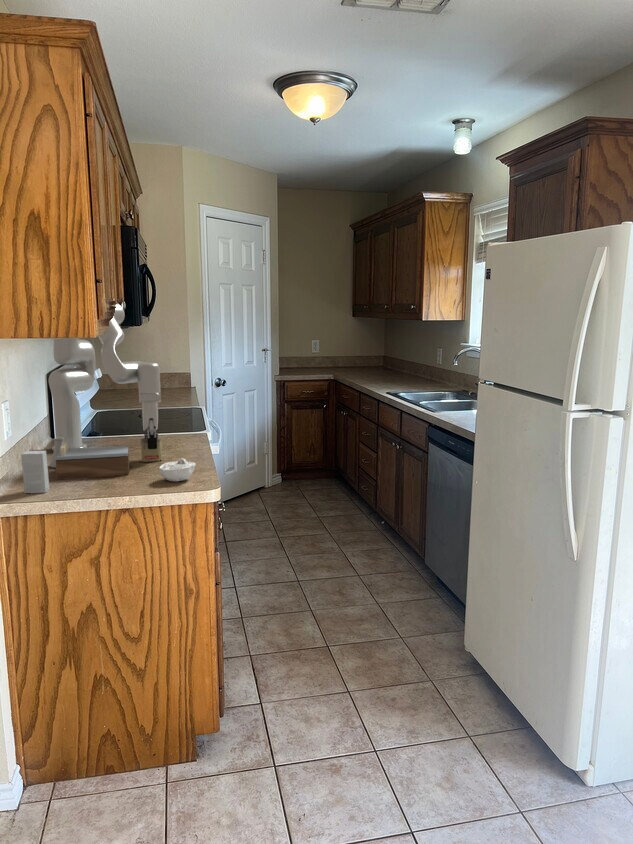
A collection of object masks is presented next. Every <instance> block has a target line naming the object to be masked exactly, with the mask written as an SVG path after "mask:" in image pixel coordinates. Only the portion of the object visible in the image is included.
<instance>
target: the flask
mask: <svg viewBox="0 0 633 844" xmlns="http://www.w3.org/2000/svg"><path fill="white" fill-rule="evenodd" d="M63 440H64V438H63V437H57V438H56V437H54V438H53V441H54V446H55V448H54V451H52V452H53V453H52V456H51V459H50V462H49V467H50V468H53V469H56V455H57V454H58V452H59V450H60V448H61V446H62V444H63Z"/></svg>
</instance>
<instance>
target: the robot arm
mask: <svg viewBox="0 0 633 844" xmlns="http://www.w3.org/2000/svg"><path fill="white" fill-rule="evenodd" d="M116 303H117V304H116V308H115V313H114V316H113V318H112V319H111V320H110V321H109V328H108V330H107V332H106V333H105V334H102V335H100V336H98V335H97V337H98V339H99V340H100V343H101V344H102V347H101V351H100V353H101V355H100V356H101V363H102V366H103V367H104V370H105V371H106V373H107V374H108V376H109V378H111V380H112V381H113V382H114V383H116V384H118V385H119V384H120V385H124V384H134V383H137V384H138V403H141V404H142V405H141V409H142V410H141V411H142V428H143V429H142V430H143V431H144V432H146V430H147V434H148V437H147V443H148V449H157V438H156V433H157V430H158V427H159V425H158V424H159V404H158V403H160V402H161V403H162V395H161V394H162V393H161V374H160V373H161V371H160V370H161V369H160V365H159V364H158V363H156V362H145V361H140V360H136V361H123V362H122V361H121V360H120V358H119V356H118V355H117V353H116V349H115V348H116V346H119V345H120V344H121V343H122V342H123V341H124V339H125V337H126V336H125V332H124V331H123V330H122V328H121V326H120V325H121V324H122V323H123V322H124V320H125V316H126V315H125V310H124V308H123V306H121V305H120V304H119V303H118V302H116ZM53 359H54V362H55V363H56V364H58V365H61V366H73V365H75V367H63V368H58V369H55V370H53V371H52V372H50V374H49V376H48V386H49V389H50V390H49V391H50V393H51V398H52V405H53V418H54V433H55V438H57V437H63V438H64V440H63V443H64V442H68V448H86V447H88V446H87V444H86V443H83V438H82V437H83V436H82V435H83V434H82V421H81V420H82V419H81V408H80V407H81V406H80V401H79V399H78V397H77V396H76V394H75V393H77V392H79V393H80V392H85V391H89V390H90V389H91V388H93V385H94V383H95V377H96V375H95V373H96V351H95V348H94V346H93V344H92V343H91V342H90V341H88V340H86V339H79V337H78V338H61V339H54V338H53ZM149 435H150V436H149ZM54 448H55V445H53V446H52V447H51V449H52V450H51V451H52V452H54Z"/></svg>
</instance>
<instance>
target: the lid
mask: <svg viewBox="0 0 633 844" xmlns="http://www.w3.org/2000/svg"><path fill="white" fill-rule="evenodd" d="M128 450H129V444H128V445H108V446H106V445H105V446H92V447H91V446H89V447H88V446H87V447H86V448H68V442H64V443H63V444H62V446H61V448H60V450H59V452H58V454H57V455H56V460H67V459H84V458H101V457H119V456H128Z"/></svg>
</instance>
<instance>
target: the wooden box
mask: <svg viewBox="0 0 633 844" xmlns="http://www.w3.org/2000/svg"><path fill="white" fill-rule="evenodd" d="M129 465H130V451H129V450H128V456H119V457H101V458H84V459H67V460H56V468H55V469H56V480H66V479H65V478H71V479H81V478H84V477H86V478H98V477H101V478H102V477H113V476H115V475H117V476H126V475H125V474H129V475H130V466H129Z"/></svg>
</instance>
